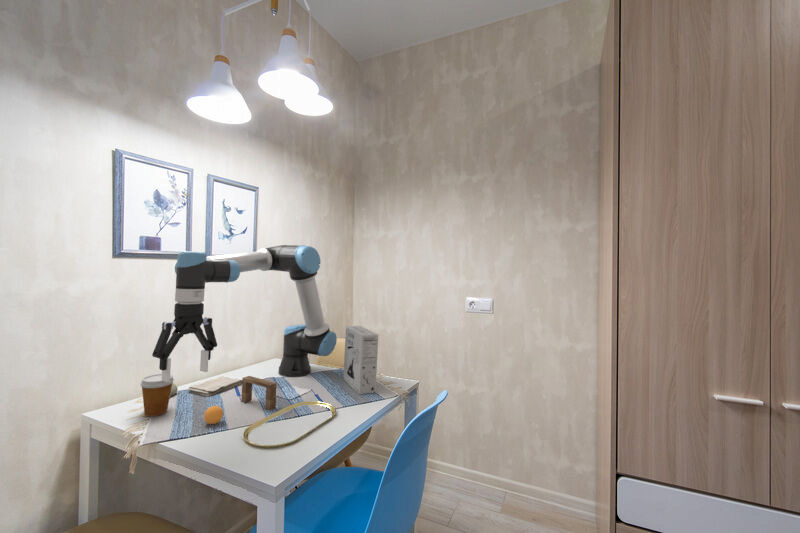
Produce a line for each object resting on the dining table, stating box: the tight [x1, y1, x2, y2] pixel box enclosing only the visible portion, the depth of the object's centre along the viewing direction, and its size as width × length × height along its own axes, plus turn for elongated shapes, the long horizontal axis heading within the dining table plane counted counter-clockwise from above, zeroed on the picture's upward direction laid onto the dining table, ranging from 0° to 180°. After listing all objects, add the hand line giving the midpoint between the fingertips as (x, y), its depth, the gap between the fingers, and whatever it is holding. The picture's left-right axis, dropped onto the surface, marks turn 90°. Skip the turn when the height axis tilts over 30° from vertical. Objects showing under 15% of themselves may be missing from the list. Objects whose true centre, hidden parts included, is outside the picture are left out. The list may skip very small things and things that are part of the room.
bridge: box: [240, 375, 278, 411], centre depth 129 cm, size 3×14×9 cm, turn 64°
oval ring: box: [242, 400, 337, 449], centre depth 116 cm, size 19×35×2 cm, turn 156°
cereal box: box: [342, 325, 379, 395], centre depth 155 cm, size 22×8×25 cm, turn 27°
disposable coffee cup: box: [140, 373, 175, 417], centre depth 119 cm, size 10×10×12 cm
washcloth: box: [187, 376, 242, 398], centre depth 144 cm, size 12×18×3 cm, turn 160°
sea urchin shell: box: [170, 382, 178, 397], centre depth 134 cm, size 9×8×8 cm
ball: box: [203, 405, 224, 425], centre depth 113 cm, size 6×6×6 cm
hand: (185, 375), depth 104 cm, fingers open, 11 cm apart
